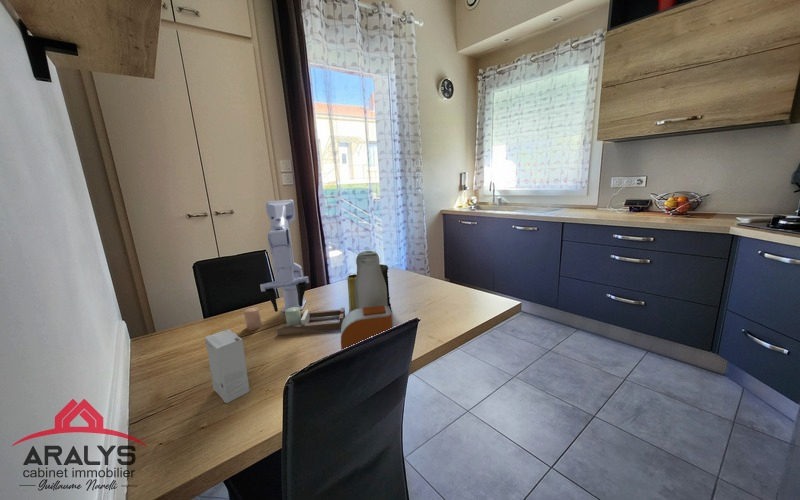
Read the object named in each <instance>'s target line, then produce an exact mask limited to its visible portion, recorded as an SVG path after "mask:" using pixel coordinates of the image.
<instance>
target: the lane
mask: <svg viewBox="0 0 800 500" xmlns="http://www.w3.org/2000/svg"><path fill="white" fill-rule="evenodd" d="M345 311H346V310H345V307H341V308H339V309H330V310H329V309H328V310H319V311H318V310H317V311H309V315H310V318H317V317H328V316H338V315H340V317H339V318H338V319H339V321H338V320H337V321H328V322H320V323H318V322H317V323H316V322H315V323H309V324H305V325H295V326H287V325H286V326H277V327H276V333H277V334H276V335H277V336H287V335H295V334H306V333H317V332H325V331H327V332H328V331H336V330H337V331H338V330H341V325H342V322H343V319H344V318H345V316H346V312H345ZM300 314H301V319H302V317H303V314H304V312H300ZM283 317H284V322H285V323H287V322H286V315H285V314H284V316H283Z"/></svg>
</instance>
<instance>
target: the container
mask: <svg viewBox="0 0 800 500" xmlns="http://www.w3.org/2000/svg"><path fill="white" fill-rule="evenodd" d="M380 268H381V272H382V275H383V277H384V280H385V283H386V288H387V306H389V307H390V310H391V311H392V306H391V305H392V304H391V302H390V299H391V297H390V289H389V286H390V285H389V276H388V273H389V271H388V270H389V266H388V265H386V264H383V263H382V264H380Z"/></svg>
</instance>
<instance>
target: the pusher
mask: <svg viewBox="0 0 800 500" xmlns="http://www.w3.org/2000/svg"><path fill="white" fill-rule="evenodd" d="M309 312H310V309H305V310H304V312H303V313H304V314H303V317H302V319H301V324H302V325H305V324H310V321H317V320H320V321H321V320H329V319H339V317H340V315H338V316H328V317H317V318H310V315H309Z"/></svg>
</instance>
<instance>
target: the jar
mask: <svg viewBox="0 0 800 500" xmlns="http://www.w3.org/2000/svg"><path fill="white" fill-rule="evenodd" d="M260 313H261V312H260V308H259V307H256V306H255V307H250V308H246V309H245V310H243V316H244V322H245V328H246V330H247V331H254V330H258V329H260V328H261V327H262V326H263V324H262V318H261V314H260Z"/></svg>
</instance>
